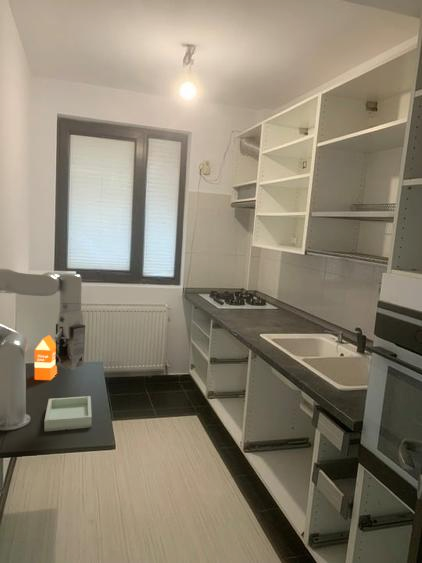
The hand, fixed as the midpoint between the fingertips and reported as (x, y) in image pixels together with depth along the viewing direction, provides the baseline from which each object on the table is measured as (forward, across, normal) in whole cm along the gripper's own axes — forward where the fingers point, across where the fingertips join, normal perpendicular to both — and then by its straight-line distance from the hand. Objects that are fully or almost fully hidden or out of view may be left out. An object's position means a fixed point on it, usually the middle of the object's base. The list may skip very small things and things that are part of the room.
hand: (69, 353), depth 153 cm
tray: (+25, 0, 0) cm, 25 cm away
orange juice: (+26, +33, +38) cm, 56 cm away
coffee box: (+5, 0, 0) cm, 5 cm away
